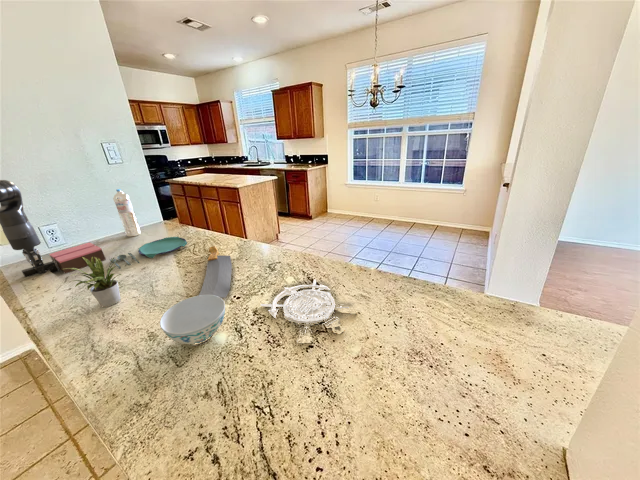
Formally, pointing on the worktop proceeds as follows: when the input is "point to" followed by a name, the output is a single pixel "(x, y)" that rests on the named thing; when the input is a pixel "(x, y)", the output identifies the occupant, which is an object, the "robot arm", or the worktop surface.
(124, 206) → the water bottle
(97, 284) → the house plant
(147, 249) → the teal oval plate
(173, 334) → the chinaware
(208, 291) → the cleaver
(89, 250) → the two-tone red slab
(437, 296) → the worktop surface
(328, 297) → the pendant
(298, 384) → the worktop surface
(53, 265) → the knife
